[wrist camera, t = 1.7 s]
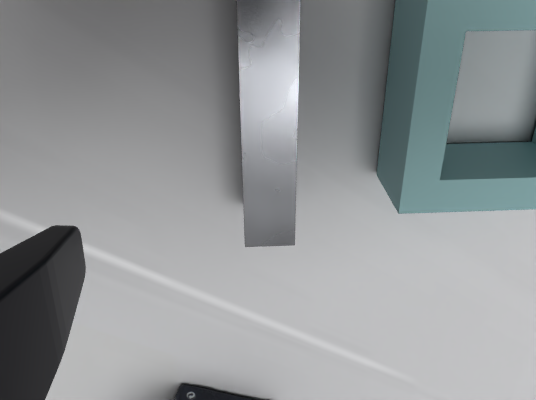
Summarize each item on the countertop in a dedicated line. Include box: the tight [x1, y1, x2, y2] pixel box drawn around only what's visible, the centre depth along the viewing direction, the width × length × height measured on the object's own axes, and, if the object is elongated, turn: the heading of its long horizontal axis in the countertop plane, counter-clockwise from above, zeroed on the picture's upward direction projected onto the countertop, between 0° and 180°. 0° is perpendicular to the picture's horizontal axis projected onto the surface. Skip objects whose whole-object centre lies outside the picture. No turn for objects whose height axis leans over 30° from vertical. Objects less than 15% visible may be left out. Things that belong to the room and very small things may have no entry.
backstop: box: [237, 0, 301, 247], centre depth 19 cm, size 2×11×4 cm, turn 1°
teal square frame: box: [377, 0, 536, 214], centre depth 19 cm, size 8×8×4 cm
